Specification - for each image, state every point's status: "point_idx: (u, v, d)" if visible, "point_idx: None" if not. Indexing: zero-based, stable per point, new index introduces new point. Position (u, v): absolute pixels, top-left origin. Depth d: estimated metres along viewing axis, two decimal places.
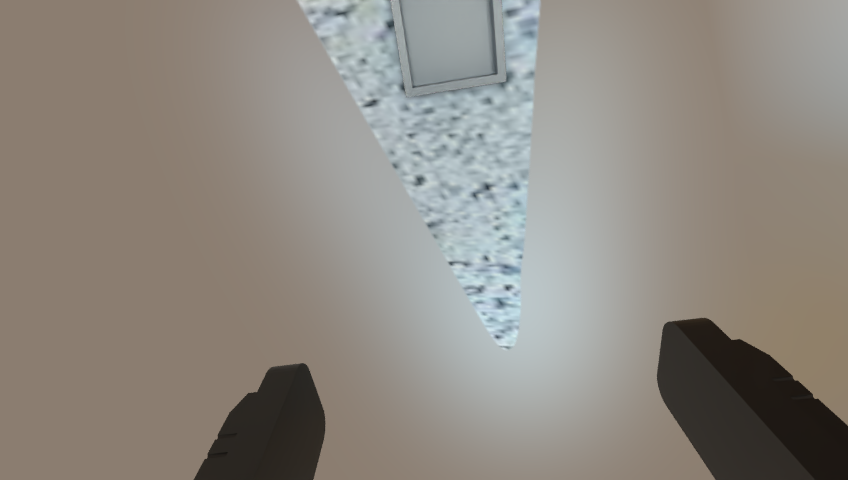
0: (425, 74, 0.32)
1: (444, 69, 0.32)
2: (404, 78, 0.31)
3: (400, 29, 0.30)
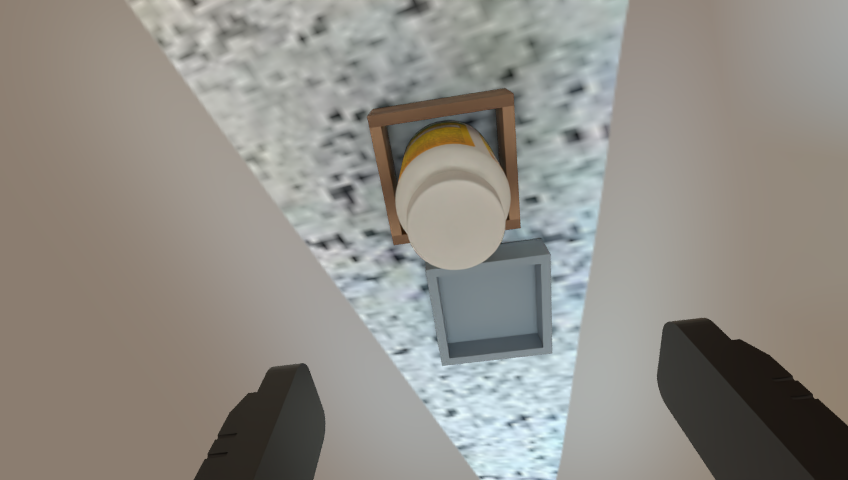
0: (462, 333, 0.30)
1: (483, 329, 0.30)
2: (441, 350, 0.29)
3: (438, 312, 0.27)
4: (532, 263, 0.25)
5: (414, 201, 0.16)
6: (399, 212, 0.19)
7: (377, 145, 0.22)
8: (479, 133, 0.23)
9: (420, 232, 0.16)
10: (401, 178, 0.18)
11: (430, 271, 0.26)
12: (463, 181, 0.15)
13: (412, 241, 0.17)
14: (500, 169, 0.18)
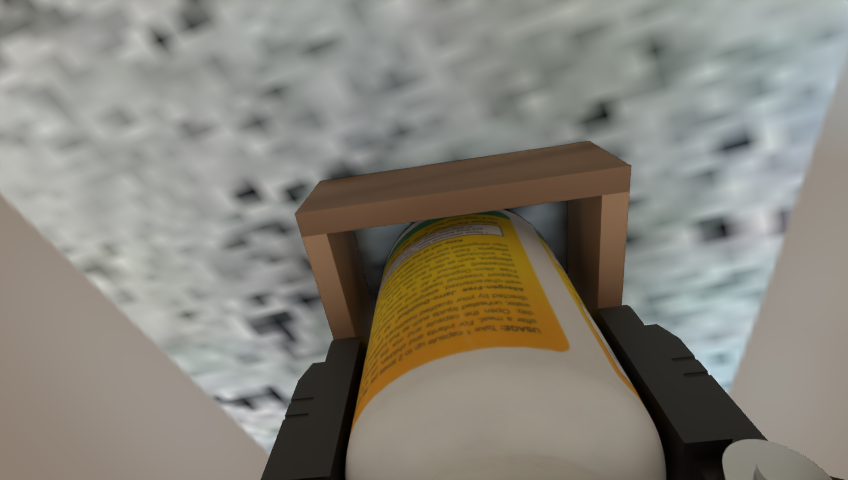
0: None
1: None
2: None
3: None
4: None
5: None
6: None
7: (321, 270, 0.10)
8: (538, 235, 0.11)
9: None
10: (358, 436, 0.06)
11: None
12: None
13: None
14: (647, 419, 0.06)
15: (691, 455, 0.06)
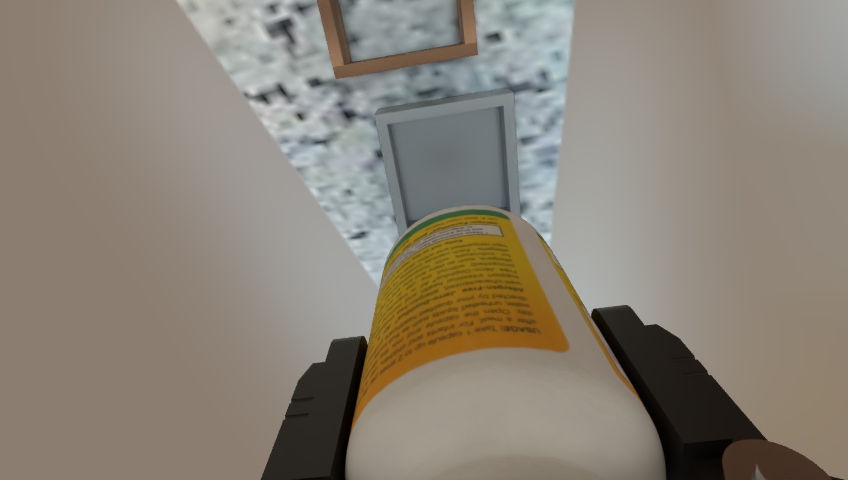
0: (423, 208, 0.27)
1: (446, 203, 0.27)
2: (397, 221, 0.26)
3: (392, 170, 0.24)
4: (494, 105, 0.23)
5: None
6: None
7: None
8: (538, 235, 0.11)
9: None
10: (358, 436, 0.06)
11: (380, 117, 0.23)
12: None
13: None
14: (647, 420, 0.06)
15: (691, 455, 0.06)
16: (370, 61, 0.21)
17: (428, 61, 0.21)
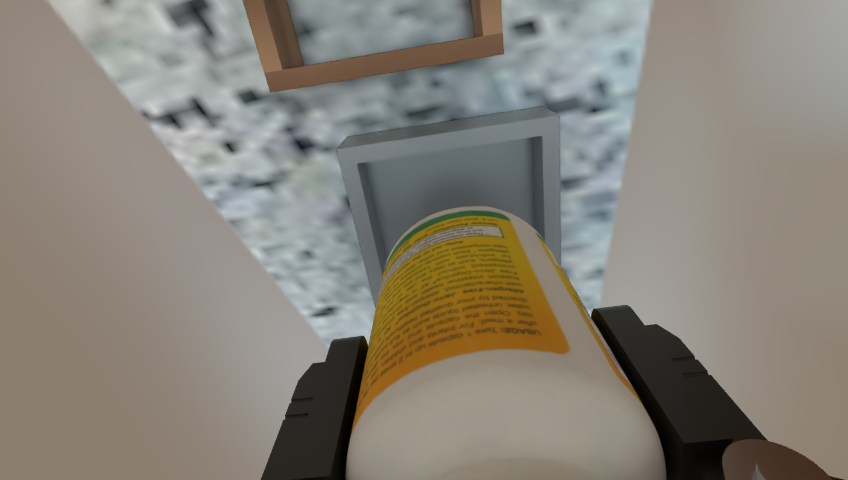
0: None
1: None
2: None
3: (366, 232, 0.16)
4: (527, 135, 0.14)
5: None
6: None
7: None
8: (538, 236, 0.11)
9: None
10: (358, 438, 0.06)
11: (345, 152, 0.14)
12: None
13: None
14: (647, 422, 0.06)
15: (691, 455, 0.06)
16: (326, 64, 0.13)
17: (421, 64, 0.13)
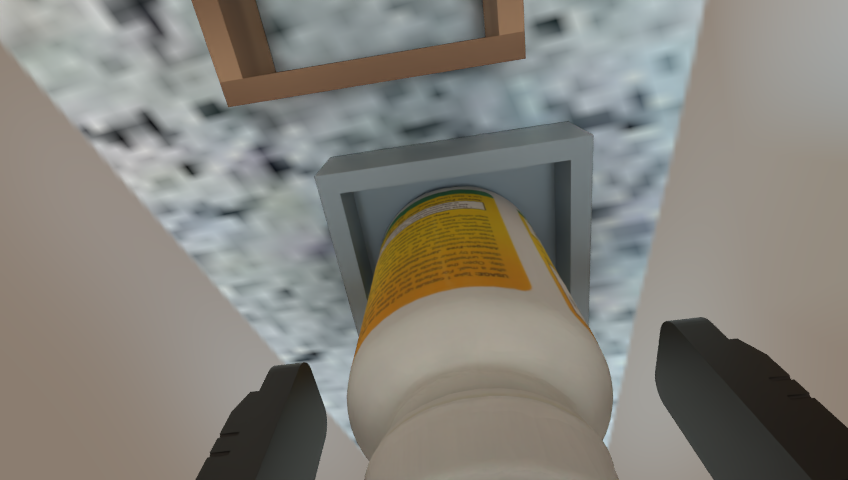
0: None
1: None
2: None
3: (353, 274, 0.13)
4: (552, 159, 0.11)
5: None
6: (354, 434, 0.08)
7: None
8: (518, 212, 0.12)
9: None
10: (357, 362, 0.08)
11: (326, 180, 0.12)
12: (527, 472, 0.05)
13: None
14: (594, 346, 0.07)
15: None
16: (298, 71, 0.10)
17: (420, 71, 0.10)
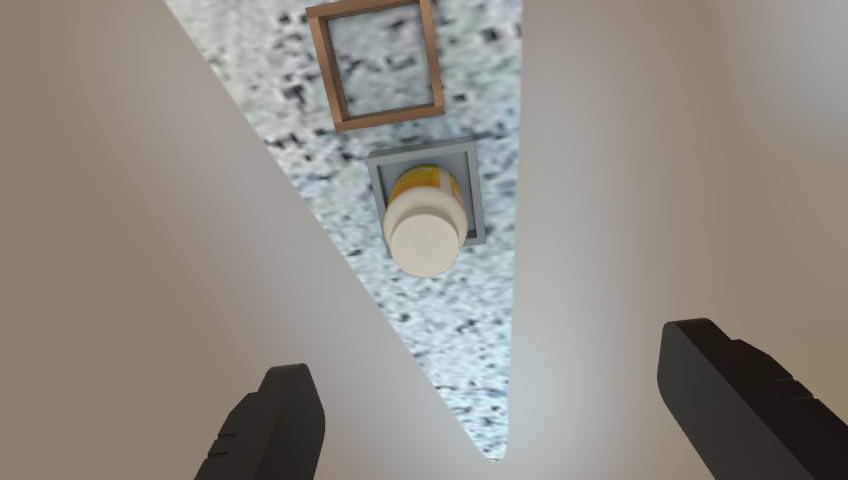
0: None
1: None
2: (386, 241, 0.32)
3: (380, 201, 0.30)
4: (459, 151, 0.29)
5: (395, 229, 0.23)
6: (386, 236, 0.26)
7: (315, 35, 0.26)
8: (449, 173, 0.30)
9: (399, 251, 0.23)
10: (387, 211, 0.25)
11: (370, 160, 0.29)
12: (427, 215, 0.22)
13: (394, 257, 0.23)
14: (458, 204, 0.25)
15: None
16: (362, 119, 0.28)
17: (407, 119, 0.28)
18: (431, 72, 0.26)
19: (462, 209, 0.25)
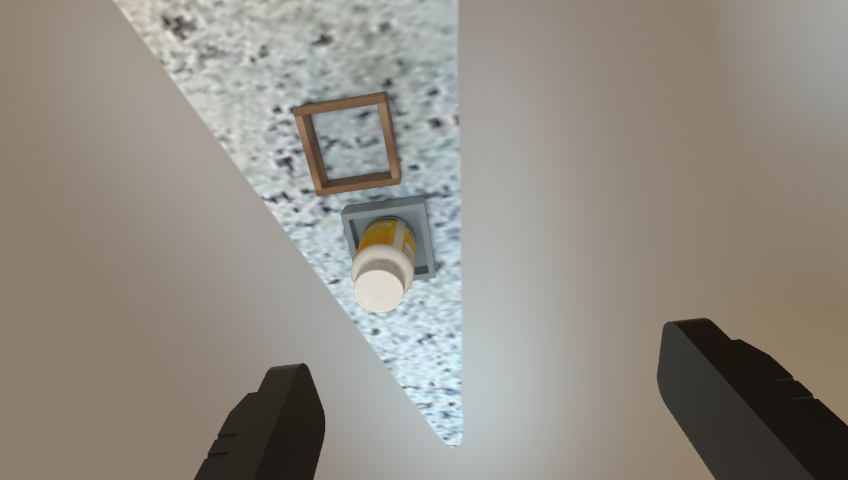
0: None
1: None
2: None
3: (352, 245, 0.39)
4: (412, 209, 0.37)
5: (356, 279, 0.32)
6: (353, 280, 0.34)
7: (300, 128, 0.34)
8: (405, 225, 0.39)
9: (360, 294, 0.32)
10: (353, 262, 0.34)
11: (344, 215, 0.38)
12: (379, 270, 0.31)
13: (356, 298, 0.32)
14: (406, 257, 0.34)
15: None
16: (337, 187, 0.36)
17: (371, 187, 0.36)
18: (388, 154, 0.35)
19: (409, 261, 0.34)
